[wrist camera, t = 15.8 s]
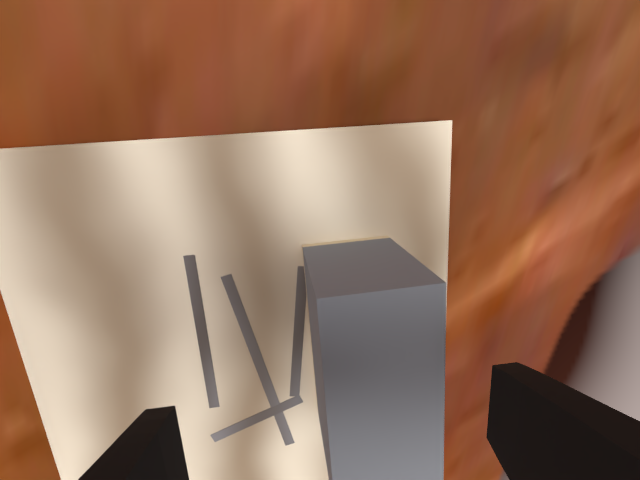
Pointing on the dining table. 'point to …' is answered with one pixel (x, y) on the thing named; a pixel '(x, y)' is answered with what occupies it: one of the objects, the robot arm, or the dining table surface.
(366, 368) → the block
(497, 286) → the dining table surface
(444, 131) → the pine board
